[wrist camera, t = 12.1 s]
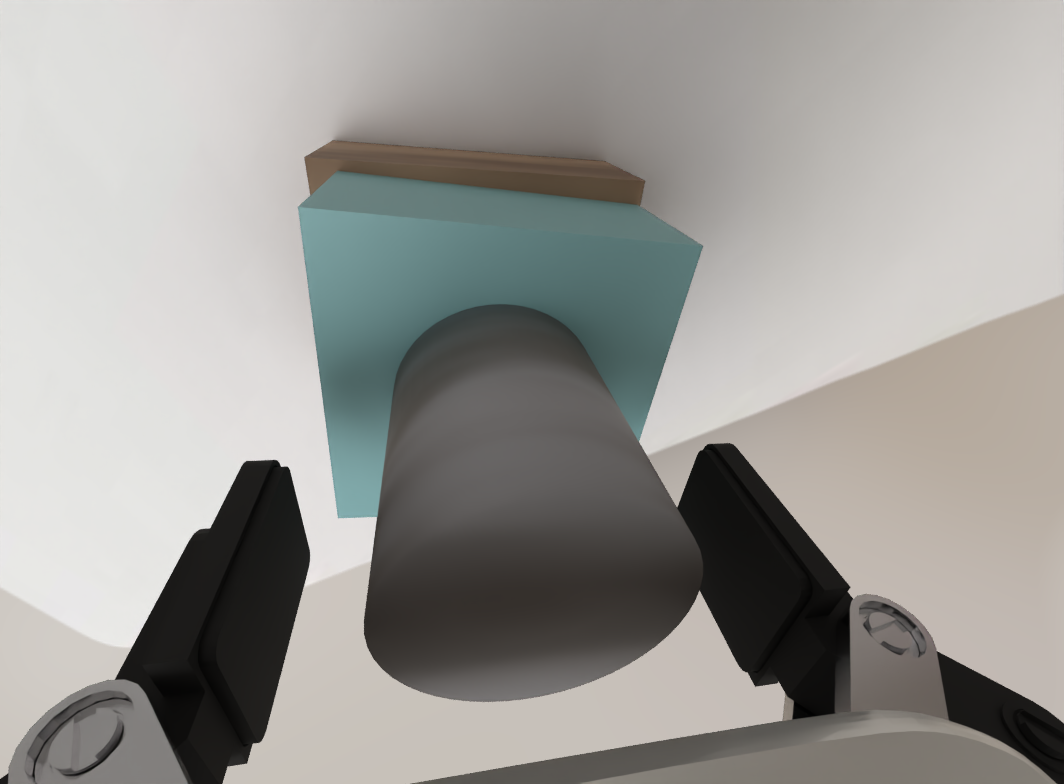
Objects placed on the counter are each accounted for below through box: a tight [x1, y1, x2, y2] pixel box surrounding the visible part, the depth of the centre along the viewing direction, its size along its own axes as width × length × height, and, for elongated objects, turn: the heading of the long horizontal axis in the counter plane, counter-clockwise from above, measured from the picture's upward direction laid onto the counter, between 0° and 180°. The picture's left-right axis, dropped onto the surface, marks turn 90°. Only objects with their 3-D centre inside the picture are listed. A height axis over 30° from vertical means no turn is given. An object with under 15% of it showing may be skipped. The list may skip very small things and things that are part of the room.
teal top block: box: [298, 171, 703, 518], centre depth 16 cm, size 10×10×5 cm
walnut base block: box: [304, 141, 645, 206], centre depth 20 cm, size 11×11×5 cm
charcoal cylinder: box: [364, 304, 703, 702], centre depth 11 cm, size 6×6×7 cm
